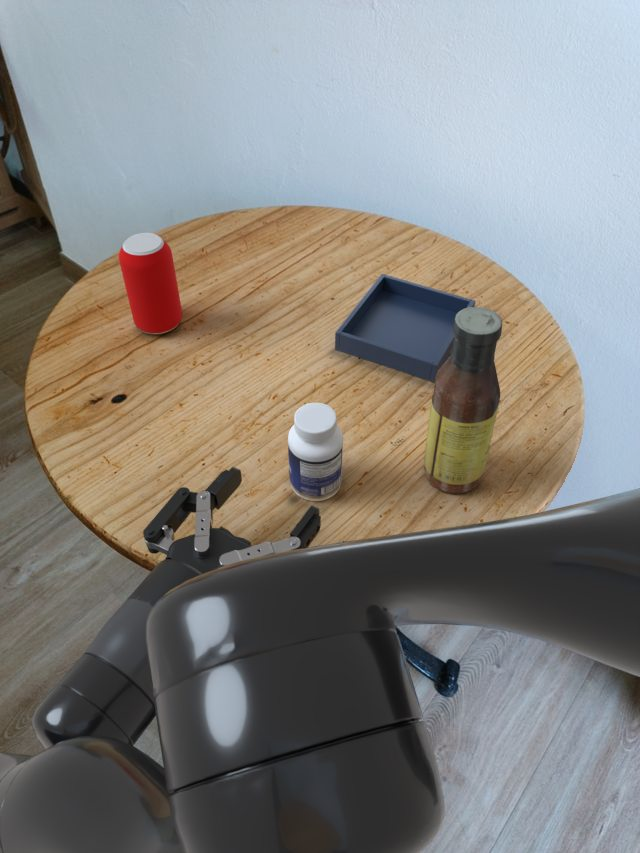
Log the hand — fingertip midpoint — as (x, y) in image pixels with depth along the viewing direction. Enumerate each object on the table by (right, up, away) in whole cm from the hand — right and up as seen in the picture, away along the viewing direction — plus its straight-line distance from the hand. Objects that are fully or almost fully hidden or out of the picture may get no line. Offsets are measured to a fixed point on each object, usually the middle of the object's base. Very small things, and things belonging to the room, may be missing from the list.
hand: (276, 492), depth 63 cm
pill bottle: (+4, 0, +9) cm, 9 cm away
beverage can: (-17, +19, +27) cm, 37 cm away
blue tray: (+15, +18, +25) cm, 35 cm away
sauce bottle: (+18, +1, +10) cm, 20 cm away
